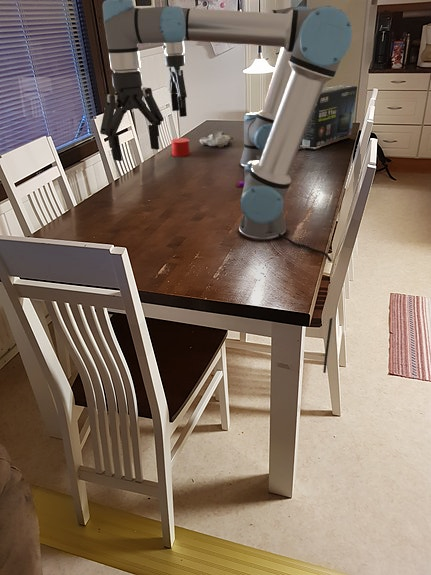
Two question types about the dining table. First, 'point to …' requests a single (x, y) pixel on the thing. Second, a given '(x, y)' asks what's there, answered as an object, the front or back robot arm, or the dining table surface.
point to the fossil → (217, 139)
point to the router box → (331, 116)
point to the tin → (180, 147)
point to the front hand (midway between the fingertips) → (137, 154)
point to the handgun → (241, 183)
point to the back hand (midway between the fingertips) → (179, 113)
